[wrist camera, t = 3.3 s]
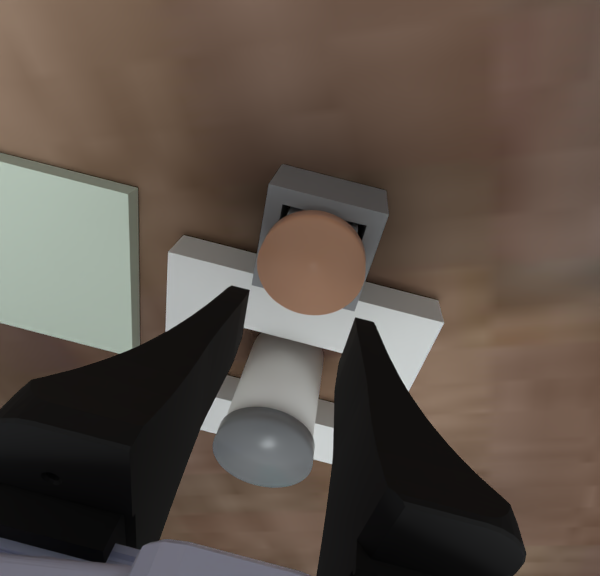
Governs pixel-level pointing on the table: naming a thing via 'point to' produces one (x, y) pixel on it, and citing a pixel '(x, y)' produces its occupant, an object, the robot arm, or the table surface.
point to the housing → (294, 326)
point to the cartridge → (272, 414)
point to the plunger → (312, 262)
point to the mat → (69, 255)
